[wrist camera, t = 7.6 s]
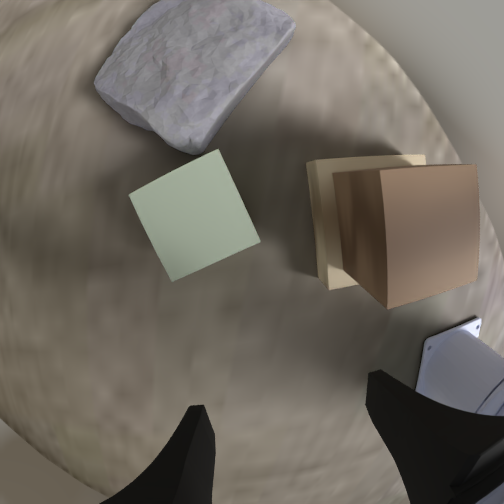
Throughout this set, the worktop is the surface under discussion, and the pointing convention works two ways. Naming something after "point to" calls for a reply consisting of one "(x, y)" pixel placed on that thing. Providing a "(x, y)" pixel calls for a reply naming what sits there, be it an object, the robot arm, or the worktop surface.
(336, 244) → the oak block
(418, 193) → the walnut cube
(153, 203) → the sage cube
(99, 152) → the worktop surface
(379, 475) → the worktop surface
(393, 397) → the robot arm
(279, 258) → the worktop surface
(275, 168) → the worktop surface
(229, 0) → the stone block
